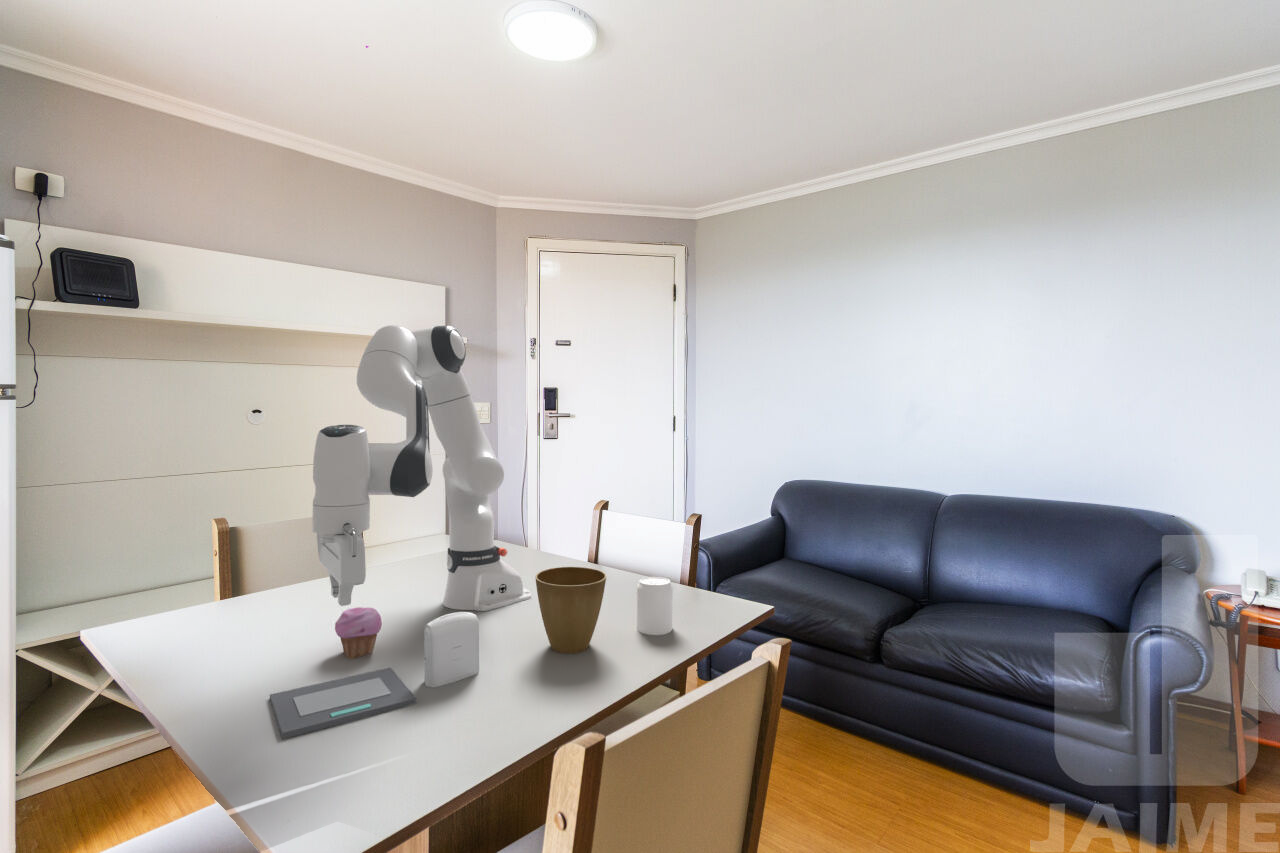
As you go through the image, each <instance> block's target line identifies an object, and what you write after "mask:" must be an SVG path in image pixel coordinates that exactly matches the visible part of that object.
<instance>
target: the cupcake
mask: <svg viewBox="0 0 1280 853" xmlns="http://www.w3.org/2000/svg"><path fill="white" fill-rule="evenodd" d="M382 625H383V622H382V617H381V614H380V612H379V611H378V610H377V609H376V608H374V607H368V606H367V607H358V606H357V607H353V608H348V609H346V610H343V611H342V613H341V614H340V616H339V618H337V620H336V621H335V624H334V631H335V633H336V635H337V637H339V638H340V641H341V644H342V649H343V653H344V655H345V656H346V657H347V659H351V660H352V659H357V658H360V657H363V656H366V655H370V654H372V653H373V652H374V649H375V645H376V641H377V637H378V636H377V635H378V634H379V633H380V631H381V629H382Z"/></svg>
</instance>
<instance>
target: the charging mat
mask: <svg viewBox="0 0 1280 853" xmlns="http://www.w3.org/2000/svg"><path fill="white" fill-rule="evenodd" d="M269 702H270V704H271V706H272V710H273V714H274V717H275V721H276V724H277V727H278V729H279V730H278V731H279V732H280V733H279V734H280V737H281V739H282V740H286V739H289V738H292V737H293V738H294V737H297V736H300V735H304V734H308V733H312V732H316V731H320V730H323V729H326V728H330V727H334V726H339V725H342V724H346V723H349V722H353V721H357V720H361V719H363V718H368V717H371V716H374V715H375V716H376V715H378V714H383V713H386V712H390V711H393V710H396V709H400V708H404V707H407V706H412V705H415V704H417V697H416V696H415V694H414V693H412V691H411V690H410V689H409V688H408V686H406V684H405V683H404V682H403V681H402V679H401V678H400V677H399V676H398V674H396V672H395V671H394V670H393V669H392V667H386V668H382V669H377V670H373V671H367V672H363V673H360V674H355V675H351V676H346V677H341V678H337V679H334V680H332V679H331V680H328V681H322V682H320V683H315V684H310V685H305V686H301V687H297V688H293V689H289V690H283V691H280V692H279V691H278V692H274V693H271V694H269Z"/></svg>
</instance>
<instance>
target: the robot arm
mask: <svg viewBox="0 0 1280 853" xmlns="http://www.w3.org/2000/svg"><path fill="white" fill-rule="evenodd" d="M466 352H467V351H466V345H465V342H464V339H463V337H462V335H461V334H460V332H459V331H458V330H456V328H454V327H453V326H450V325H436V326H434V327H430V328H425V329H418V330H414V331H410V330H409V329H407V328H404V327H402V326H399V325H391V324H390V325H385V326H382V327H381V328H378V330H376V332H375V333H374V334H373V336H372V337H371V338H370V340H369V341H368V343H367V345H366V347H365V349H364V351H363V353H362V356H361V359H360V361H359V365H358V368H357V372H356V385H357V387H358V391H359V392H360V394H361V395H362V396H363V397H364V399H365V400H366V401H368V402H369V403H370V404H372V405H373V406H374V407H377V408H379V409H381V410H385V411H388V412H392V413H396V414H398V415H400V416H402V417H404V418H406V419H405V420H406V422H405V424H406V428H405V431H406V432H405V433H406V434H405V435H406V436H405V438H406V439H405V440H403V441H399V442H394V443H391V442H390V443H389V442H388V443H385V442H384V443H382V442H376V443H375V442H369V440H368V433H367V429H366V428H364V427H363V426H360V425H356V424H337V425H329V426H326V427H324V428H322V429H320V430H319V431H318V433H317V437H316V440H315V446H314V452H313V462H312V464H313V466H312V480H313V483H314V486H315V487H314V488H315V492H314V497H313V499H312V532H313V533H315V534H316V541H317V542H316V543H317V551H318V558H319V563H320V565H322V566H323V567H324V569H326V571H327V572H328V574H329V575H328V576H329V582H330V594H331V596H332V597H333V598H335V599H337V603H338V605H339V606H341V607H345V606H351V604H352V595H353V593H352V592H353V589H354V587H355V586H359V585H363V584H364V583H365V581H366V574H367V572H366V570H367V568H366V567H367V566H366V547H365V541H364V538H363V536H362V532H365V531H367V530H369V529H370V522H371V520H370V516H371V515H370V512H371V511H370V509H371V507H370V505H371V504H370V503H371V499H370V496H395V497H406V498H407V497H408V498H415V497H416V496H419V495H420V494H421V493H422V492H424V491H425V490H426V489H427V488H428V487H430V485H431V481H432V479H433V478H432V477H433V462H432V457H431V454H430V453H431V452H430V449H431V448H430V423H429V422H430V421H429V420H430V419H431V422H432V425H433V428H434V432H435V435H436V437H437V439H438V440H439V442H440V444H441V445H442V447H443V451H444V453H445V454H446V456H447V458H445V460H444V462H443V465H442V474H443V478H444V486H445V487H444V489H445V495H446V496H445V497H446V503H447V508H448V518H449V528H448V529H449V530H448V531H449V532H448V533H449V534H448V535H449V538H448V540H449V542H448V544H449V546H448V548H447V554H446V567H447V570H448V572H447V583H446V585H445V586H446V588H445V592H444V596H443V599H442V602H441V603H442V605H443V606H444V607H445V608H448V609H450V610H451V609H452V610H459V611H465V610H466V611H479V612H486V611H491V610H495V609H498V608H499V609H500V608H503V607H506V606H508V605H509V606H510V605H511V604H512V605H513V604H516V603H520V602H522V601H526V600H530V599H532V593H531V591H530V590H529V589H527V588H525V587H524V585H523V580H522V576H521V574H520V573H519V572H518V571H517V570H516V569H515V568H513V567H512V566H510V565H509V564H508V563H507V562H505V561H503V560H502V559H501V557H506V556H507V554H508V550H507V549H506V548H504V547H499V546H496V545H495V542H494V539H495V538H494V536H495V534H494V532H495V523H494V522H495V521H494V520H495V516H494V512H493V511H492V507H491V502H490V498H489V497H490V496H489V495H491V494H493V493H494V492H496V491H498V489H499V488H500V487H501V486H502V484H503V482H504V477H505V473H504V472H505V471H504V468H503V466H502V464H501V462H500V461H499V460H498V458H497V456H496V454H495V451H494V449H493V447H492V445H491V442H490V440H489V438H488V437H487V435H486V432H485V430H484V428H483V426H482V424H481V421H480V417H479V415H478V411H477V409H476V406H475V402H474V399H473V395H472V394H471V390H470V387H469V384H468V382H467V379H466V377H465V375H464V373H463V371H462V368H461V367H462V366H463V364H464V363H465V360H466V359H465V358H466V354H467V353H466ZM418 381H420V382H421V383H419V382H418ZM429 416H430V417H429ZM429 418H430V419H429Z"/></svg>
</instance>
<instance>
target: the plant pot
mask: <svg viewBox="0 0 1280 853" xmlns="http://www.w3.org/2000/svg"><path fill="white" fill-rule="evenodd" d="M534 577H535V584H536V586H535V587H536V592H537V600H538V604H539V605H538V606H539V610H540V614H541V617H542V618H541V619H542V622H543V627H544V631H545V632H546V636H547V639H548V642H549V645H550V647H551V649H552V650H553V651H554V652H555V653H556V652H557V653H559V654H566V655H567V654H578V653H581V652H584V651H586V650H587V649H588V648H589V646H590V643H591V640H592V637H593V636H594V632H595V630H596V626H597V623H598V620H599V616H600V612H601V608H602V603H603V598H604V595H605V594H604V593H605V588H606V581H607V574H606V573H605V572H603V571H602V570H600V569H599V570H598V569H596V568H591V567H584V566H581V567H580V566H559V567H552V568H546V569H544V570H541V571H539V572H537V573H536V574H535V576H534Z"/></svg>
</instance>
